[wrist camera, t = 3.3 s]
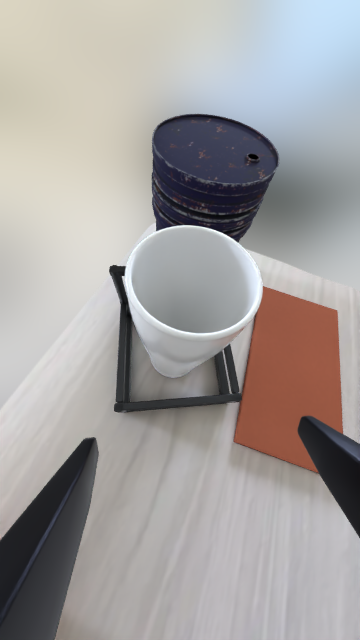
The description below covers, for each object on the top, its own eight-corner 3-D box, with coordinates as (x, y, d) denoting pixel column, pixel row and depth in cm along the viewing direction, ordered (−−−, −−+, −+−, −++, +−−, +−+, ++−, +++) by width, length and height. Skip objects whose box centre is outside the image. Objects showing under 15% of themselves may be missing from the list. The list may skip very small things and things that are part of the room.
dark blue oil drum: (141, 285, 26) (124, 154, 13) (169, 238, 30) (179, 102, 17) (211, 313, 26) (269, 204, 12) (229, 260, 30) (289, 137, 16)
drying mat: (340, 481, 19) (345, 483, 19) (233, 441, 20) (235, 442, 19) (334, 312, 28) (337, 310, 27) (260, 287, 28) (261, 285, 28)
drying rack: (228, 403, 21) (272, 398, 13) (121, 412, 20) (96, 413, 12) (212, 311, 26) (237, 265, 18) (125, 313, 24) (109, 264, 16)
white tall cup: (205, 383, 22) (284, 338, 8) (143, 387, 21) (117, 344, 7) (198, 327, 24) (248, 224, 11) (144, 329, 24) (125, 219, 10)
